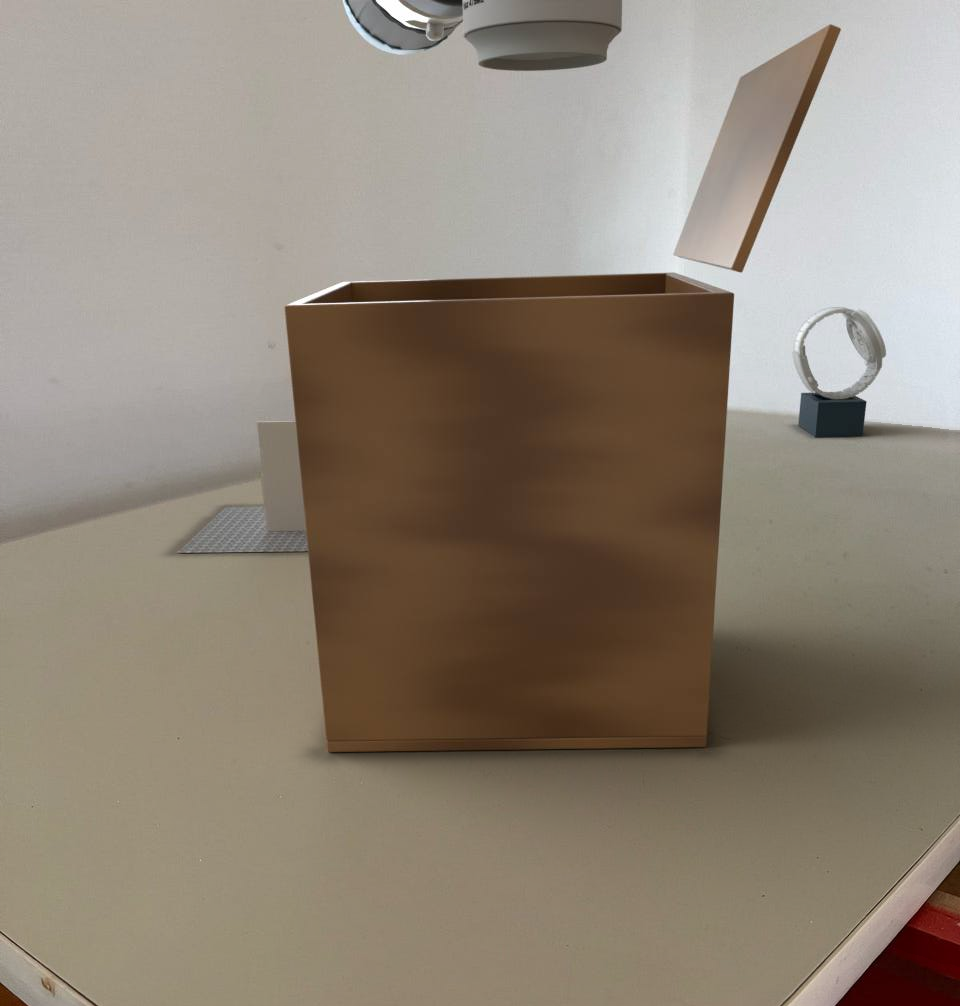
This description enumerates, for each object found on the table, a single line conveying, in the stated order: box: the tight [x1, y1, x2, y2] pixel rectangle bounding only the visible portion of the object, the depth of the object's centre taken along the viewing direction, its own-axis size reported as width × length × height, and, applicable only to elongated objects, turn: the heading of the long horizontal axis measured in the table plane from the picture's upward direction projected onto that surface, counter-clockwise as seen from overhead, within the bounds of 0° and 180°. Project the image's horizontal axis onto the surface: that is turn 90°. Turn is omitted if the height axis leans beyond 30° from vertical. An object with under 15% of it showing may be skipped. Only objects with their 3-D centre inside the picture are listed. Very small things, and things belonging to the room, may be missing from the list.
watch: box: [791, 306, 887, 438], centre depth 94 cm, size 6×8×11 cm
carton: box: [283, 272, 735, 753], centre depth 43 cm, size 15×13×17 cm
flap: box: [672, 23, 842, 273], centre depth 38 cm, size 7×13×1 cm
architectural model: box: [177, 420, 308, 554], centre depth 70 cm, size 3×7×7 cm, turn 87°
